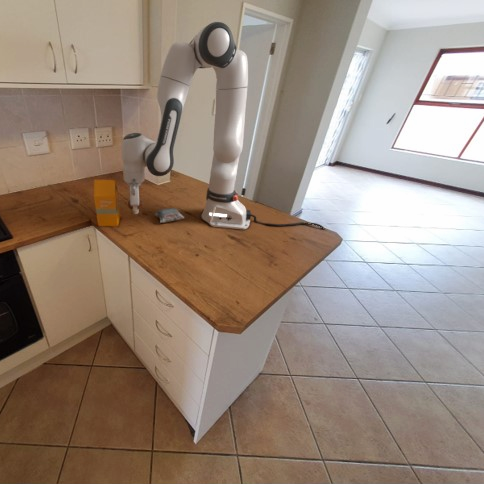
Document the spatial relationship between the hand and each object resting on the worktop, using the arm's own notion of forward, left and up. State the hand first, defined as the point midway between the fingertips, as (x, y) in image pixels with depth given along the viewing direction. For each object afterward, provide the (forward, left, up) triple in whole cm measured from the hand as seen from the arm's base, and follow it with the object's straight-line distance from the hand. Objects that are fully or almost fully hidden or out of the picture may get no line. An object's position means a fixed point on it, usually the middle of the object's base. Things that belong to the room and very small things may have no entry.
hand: (135, 206), depth 111 cm
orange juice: (+11, +5, -8) cm, 14 cm away
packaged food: (-14, -7, -8) cm, 17 cm away
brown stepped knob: (0, 0, -3) cm, 3 cm away
